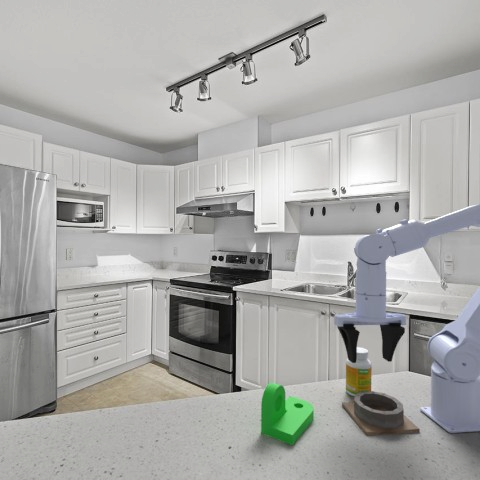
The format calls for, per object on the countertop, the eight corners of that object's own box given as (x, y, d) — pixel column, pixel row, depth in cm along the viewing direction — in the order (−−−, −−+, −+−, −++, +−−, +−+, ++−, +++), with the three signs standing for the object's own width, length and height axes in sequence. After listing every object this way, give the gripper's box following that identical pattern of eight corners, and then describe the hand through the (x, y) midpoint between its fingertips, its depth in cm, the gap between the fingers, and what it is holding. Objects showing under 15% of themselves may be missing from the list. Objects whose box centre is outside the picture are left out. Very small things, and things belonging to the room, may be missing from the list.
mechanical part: (292, 447, 52) (292, 399, 52) (261, 434, 56) (261, 389, 56) (318, 414, 62) (318, 374, 62) (290, 405, 66) (290, 367, 66)
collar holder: (387, 403, 66) (387, 388, 66) (419, 432, 56) (419, 414, 56) (342, 405, 65) (342, 390, 65) (366, 435, 55) (366, 417, 55)
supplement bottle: (358, 400, 67) (359, 355, 67) (340, 390, 72) (341, 347, 72) (376, 395, 70) (377, 351, 70) (357, 385, 75) (358, 344, 75)
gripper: (391, 290, 69) (390, 352, 69) (328, 290, 67) (327, 354, 67) (413, 295, 62) (412, 365, 62) (343, 296, 60) (342, 367, 60)
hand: (369, 360), depth 64 cm, fingers open, 7 cm apart
